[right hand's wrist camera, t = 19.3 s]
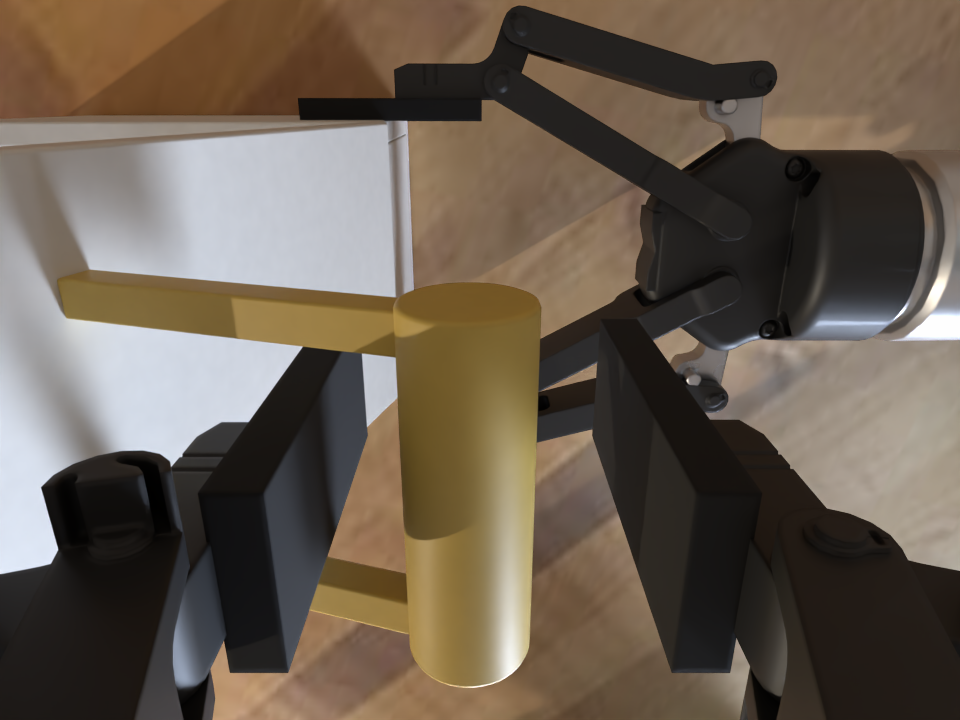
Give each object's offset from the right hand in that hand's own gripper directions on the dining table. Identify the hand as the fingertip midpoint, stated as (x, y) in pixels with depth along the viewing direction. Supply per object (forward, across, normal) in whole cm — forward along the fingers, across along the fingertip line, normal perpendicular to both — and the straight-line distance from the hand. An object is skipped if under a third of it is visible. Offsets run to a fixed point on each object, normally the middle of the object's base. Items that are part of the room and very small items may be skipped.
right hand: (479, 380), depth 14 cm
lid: (+3, +6, 0) cm, 7 cm away
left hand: (+14, +6, 0) cm, 15 cm away
